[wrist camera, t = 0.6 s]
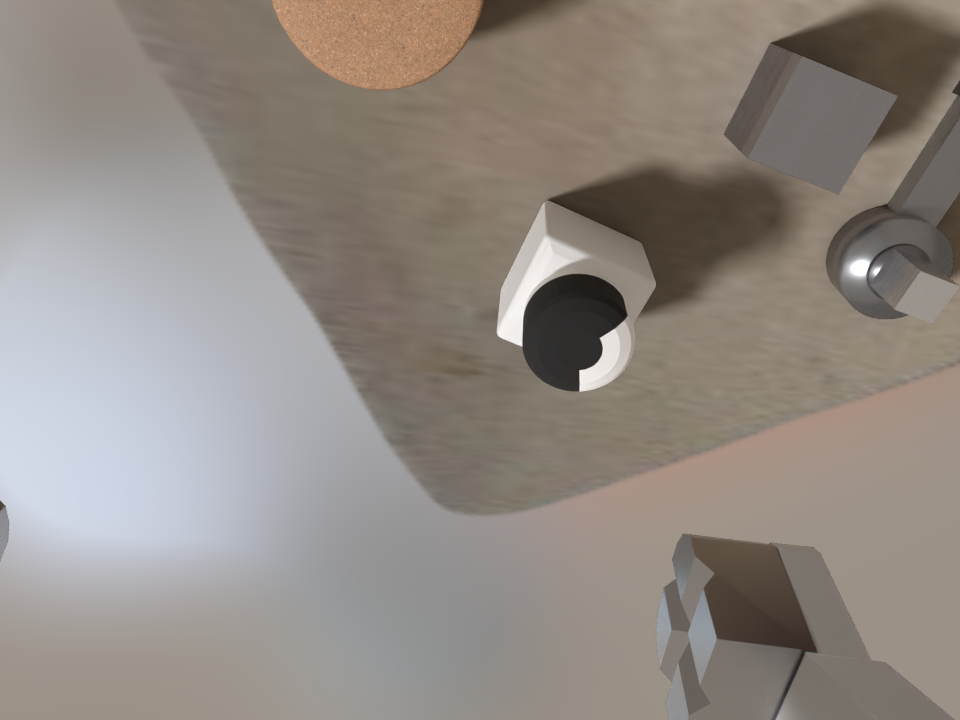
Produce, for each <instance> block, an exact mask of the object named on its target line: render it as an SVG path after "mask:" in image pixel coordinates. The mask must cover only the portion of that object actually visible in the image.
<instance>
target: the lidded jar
mask: <svg viewBox="0 0 960 720" xmlns="http://www.w3.org/2000/svg"><path fill="white" fill-rule="evenodd" d="M483 2H484V0H272V3H273V7H274V9H275V11H276V14H277V16H278V18H279V20H280V22H281V24H282V26H283V28H284V29H285V31H286V32H287V34H288V36H289V37H290V39H291V40H292V42H293V43H294V44H295V45H296V46H297V48H298V49H299V50H300V51H301V52H302V53H303V55H304V56H305V57H307V58H308V59H309V60H310V61H311V62H312V63H313V64H314V65H316V66H317V67H318V68H320V69H321V70H323V71H324V72H326V73H327V74H329V75H330V76H332V77H334V78H336V79H338V80H340V81H343V82H345V83H347V84H350V85H354V86H357V87H361V88H366V89H375V90H391V89H399V88H404V87H408V86H412V85H414V84H417V83H419V82H422V81H424V80H427V79H428V78H430V77H432V76H433V75H435V74H436V73H438V72H440V71H441V70H442V69H443V68H444V67H446V66H447V65H448V64H449V63H450V62H451V61H452V60H453V59H454V58H455V57H456V56H457V55H458V53H459V52H460V51H461V50H462V49H463V47H464V46H465V45H466V43H467V41H468V40H469V38H470V36H471V34H472V33H473V31H474V29H475V27H476V24H477V22H478V19H479V17H480V14H481V11H482V6H483Z"/></svg>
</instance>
